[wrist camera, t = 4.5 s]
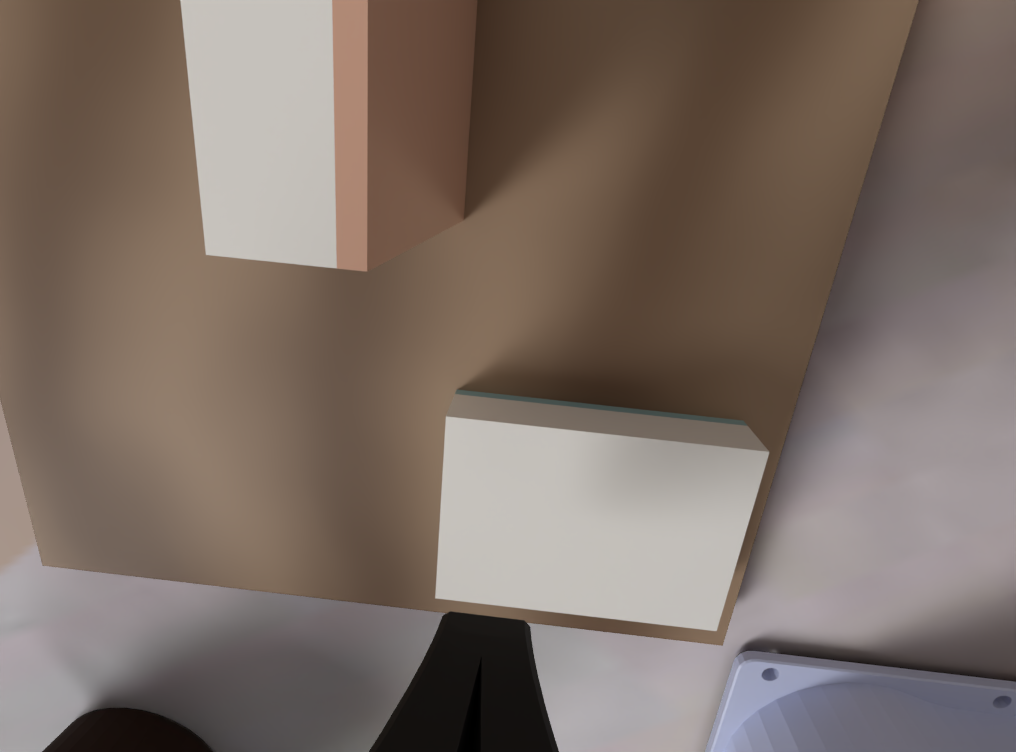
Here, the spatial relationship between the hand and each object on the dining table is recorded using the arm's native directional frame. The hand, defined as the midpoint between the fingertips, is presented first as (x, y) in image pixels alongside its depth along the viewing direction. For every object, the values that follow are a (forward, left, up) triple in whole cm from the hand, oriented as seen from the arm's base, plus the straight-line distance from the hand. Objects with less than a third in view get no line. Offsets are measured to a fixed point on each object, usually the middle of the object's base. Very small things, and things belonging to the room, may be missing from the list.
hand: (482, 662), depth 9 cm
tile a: (+1, 0, -5) cm, 5 cm away
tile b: (+2, -9, -6) cm, 11 cm away
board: (+3, -5, -7) cm, 9 cm away
